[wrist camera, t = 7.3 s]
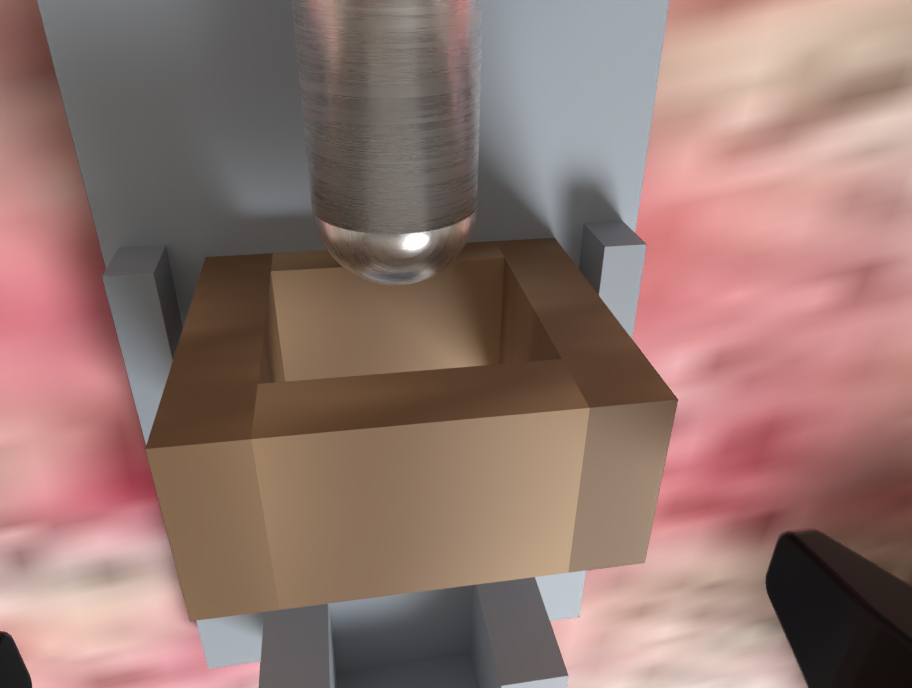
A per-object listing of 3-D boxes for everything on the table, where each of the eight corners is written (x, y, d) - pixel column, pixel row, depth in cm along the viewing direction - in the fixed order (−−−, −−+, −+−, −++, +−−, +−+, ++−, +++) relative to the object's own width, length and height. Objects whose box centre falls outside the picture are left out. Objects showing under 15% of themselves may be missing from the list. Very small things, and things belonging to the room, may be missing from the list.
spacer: (554, 237, 14) (678, 399, 9) (543, 367, 16) (644, 562, 11) (205, 257, 13) (144, 449, 8) (230, 393, 15) (190, 621, 10)
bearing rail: (727, -632, 9) (1073, -1088, 5) (568, 588, 21) (633, 758, 17) (-124, -750, 8) (-634, -1534, 4) (212, 636, 20) (185, 835, 15)
